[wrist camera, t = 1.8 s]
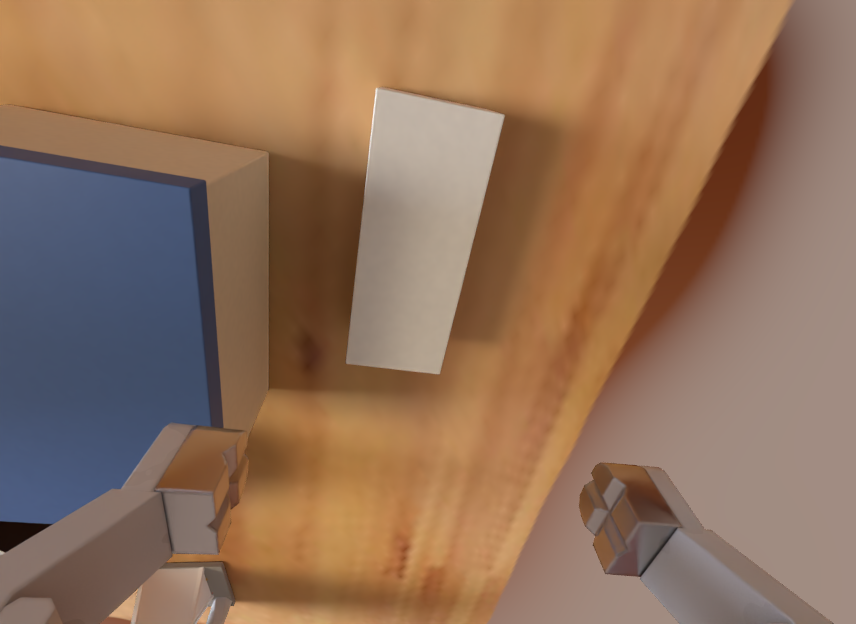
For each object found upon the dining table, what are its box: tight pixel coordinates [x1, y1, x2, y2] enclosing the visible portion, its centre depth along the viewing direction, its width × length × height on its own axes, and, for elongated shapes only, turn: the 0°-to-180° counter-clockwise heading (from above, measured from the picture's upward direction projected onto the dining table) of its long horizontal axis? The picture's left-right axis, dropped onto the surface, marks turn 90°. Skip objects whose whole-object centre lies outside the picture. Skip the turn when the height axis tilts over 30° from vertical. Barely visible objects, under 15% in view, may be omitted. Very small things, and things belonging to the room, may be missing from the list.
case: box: [346, 87, 505, 374], centre depth 22 cm, size 14×6×4 cm, turn 169°
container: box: [0, 105, 269, 524], centre depth 20 cm, size 17×13×10 cm
